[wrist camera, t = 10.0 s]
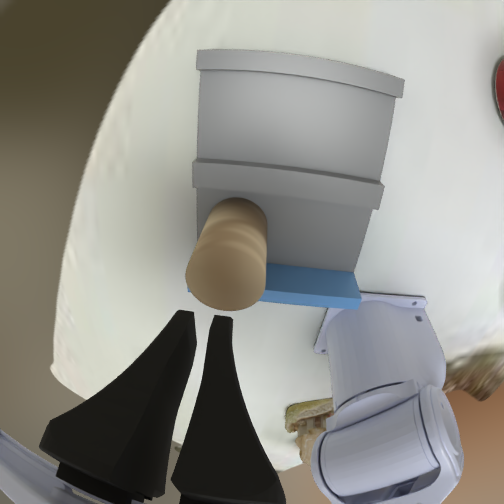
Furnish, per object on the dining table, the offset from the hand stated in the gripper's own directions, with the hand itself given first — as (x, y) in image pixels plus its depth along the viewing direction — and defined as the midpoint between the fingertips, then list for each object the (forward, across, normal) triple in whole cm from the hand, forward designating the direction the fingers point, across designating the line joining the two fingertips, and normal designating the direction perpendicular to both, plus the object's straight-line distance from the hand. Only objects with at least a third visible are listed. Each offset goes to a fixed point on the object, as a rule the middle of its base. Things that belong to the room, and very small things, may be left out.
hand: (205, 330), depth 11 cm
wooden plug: (+9, 0, 0) cm, 9 cm away
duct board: (+10, -3, -4) cm, 11 cm away
